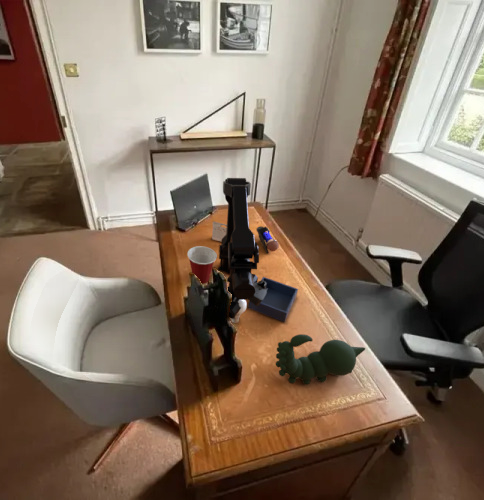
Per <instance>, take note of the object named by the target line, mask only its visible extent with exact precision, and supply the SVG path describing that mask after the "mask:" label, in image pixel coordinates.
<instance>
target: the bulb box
mask: <svg viewBox="0 0 484 500" xmlns="http://www.w3.org/2000/svg"><path fill="white" fill-rule="evenodd" d="M261 280H264V281H265V282H266V283H267V285H266V288H267V294H266V295H265V297H264V299H263V300H262V301H261V303H260V304H259V305H258V306H256V305H254V304H253V303H252V302H250V301H249V300H248V304H247V308H248V309H249V310H252V311H255V312H258V313H260V314H262V315H265V316H267V317H270V318H272V319H275V320H278V321H280V322H283V323H285V322H286V320H287V318H288V316H289V314H290V312H291V309H292V307H293V305H294V303H295V301H296V298H297V295H298V290H299V289H298V288H296V287H293V286H292V285H288V284H285V283H283V282H280V281H277V280H274V279H271V278H269V277H266V276H262V278H261V279H260V281H261Z"/></svg>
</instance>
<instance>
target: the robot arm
mask: <svg viewBox="0 0 484 500" xmlns="http://www.w3.org/2000/svg"><path fill="white" fill-rule="evenodd" d="M251 185H252V183H251V182H250V181H247V178H246V177H227V178H225V180H223V182H222V193H223V194H224V199H225V201H226V203H227V218H226V224H227V227H226V228H227V229H226V235H225V236H224V237H223V238H222V241H221V242H220V244H219V246H218V260H219V261H220V262H219V267H217V270H218V271H221V272H223V273H226V274H229V276H228V277H227V278H226V282H227V283H228V286H227V288H228V291H229V292H230V293H231V294H232V302H231V305H230V312H229V317H230V318H229V317H228V318H229V319H230V320H231V319H233V318H235V316H236V315H237V313H238V312H239V310H240V309H241V307H240V306H239V303H238V301H239V300H246V301H248V302H249V301H250V302H252V303H253V304H254V305H256V306H258V305H259V304H260V303H261V301H262V300H263V299H264V297H265V295H266V294H267V288H266V285H267V283H266V282H265V281H264V280H261V279H260V280H259V277H258V276H257V274H254V273H252V270H258V264H259V263H260V252H259V251H260V249H259V245H258V243H257V241H256V239H255V234H254V232H253V231H252V230H251V229H250V223H249V207H248V197H249V196H251V188H252V187H251ZM252 260H253V261H252ZM230 293H229V294H230ZM217 308H218V307H217Z"/></svg>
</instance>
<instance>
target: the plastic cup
mask: <svg viewBox="0 0 484 500" xmlns="http://www.w3.org/2000/svg"><path fill="white" fill-rule="evenodd" d="M186 255H187V258H188V261H189V265H190V270H191V274H192V273H194V274H195V275H196V276H197V277H198V278H199V279H200V281H201V283H202V285H204V284H206V283H208V282H209V280H210V277H211V274H212V270H213V266H214V263H215V261H217V258H218V254H217V252H216V251H215V250H214V249H213V248H211V247H208V246H203V245H202V246H201V245H197V246H193V247H191V248H189V249H188V251H187V254H186Z"/></svg>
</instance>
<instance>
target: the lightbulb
mask: <svg viewBox="0 0 484 500" xmlns="http://www.w3.org/2000/svg"><path fill="white" fill-rule="evenodd" d="M238 303H239V306H240V307H241V309H240V310H239V312H238V313H237V315H236V316H235V318H233V319H231V318H230V321H231V323H233V324H237V323H239V322H240V317H241V315H242V314H244V313H245V312H246V310H247V308H248V304H247V300H239V301H238Z"/></svg>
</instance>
